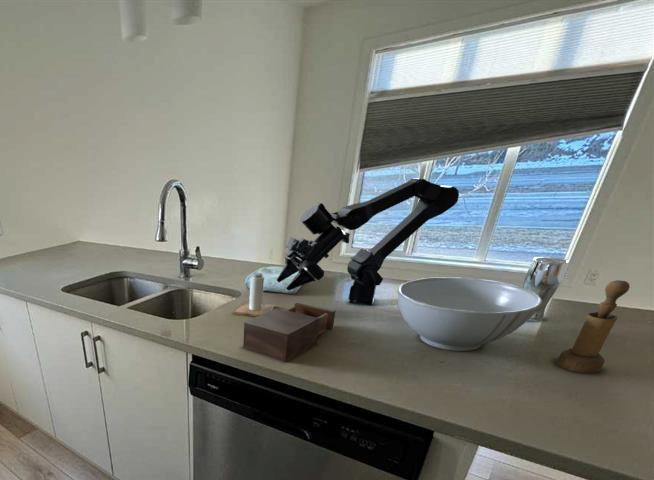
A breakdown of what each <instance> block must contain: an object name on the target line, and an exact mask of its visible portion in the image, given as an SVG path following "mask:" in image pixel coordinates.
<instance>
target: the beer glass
mask: <svg viewBox="0 0 654 480" xmlns="http://www.w3.org/2000/svg"><path fill="white" fill-rule="evenodd" d="M569 262H570V260H569V259H567V258H563V257H554V256H538V257H537V256H536V257H534V258H533V259H532V261H531V264H530V266H529V268H528V269H527V271H526V274H525V276H524V280H523V285H522V288H524V289H527V290H529V291H531V292H533V293H535V294H537V295H538V296H539V297H540V298H541V299H542V304H541V306H540V307H539V309H538V310H537V311H536V312H535V314H534V315H533V316H532V317H531V318H530V319H529V320H528V321H530V322H538V321H539V322H540V321H542V320H544V317H545V311H546V308H547V306H548V303H549V302H550V301H551V299H552V298H553V296H554V295H555V293H556V292H557V291H558V289H559V287H560V285H561V284H562V281H563V280H564V276H565V274H566V271H567V269H568V267H569V266H568V265H569ZM528 321H527V322H528Z"/></svg>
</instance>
